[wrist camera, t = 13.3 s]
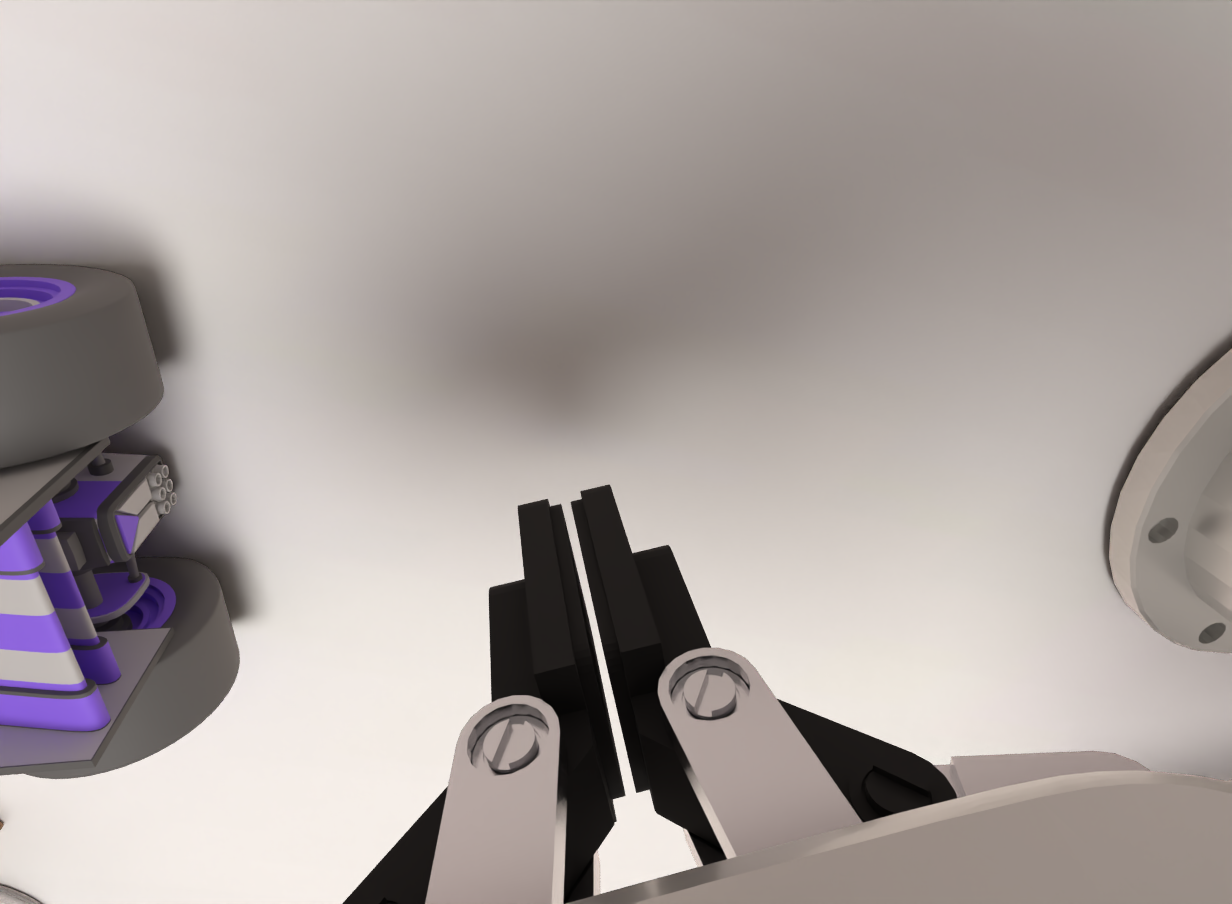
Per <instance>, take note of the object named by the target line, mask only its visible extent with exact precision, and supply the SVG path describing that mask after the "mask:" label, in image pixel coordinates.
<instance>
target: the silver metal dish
mask: <svg viewBox="0 0 1232 904" xmlns="http://www.w3.org/2000/svg"><path fill="white" fill-rule="evenodd" d="M0 904H41V903H39V902H38V901H36V900H35V899H33V898H31V897H29V896H27V895H25V894H23V893H21V892H19V891H16V890H14V889H11V888H8V887H5V886H2V885H0Z"/></svg>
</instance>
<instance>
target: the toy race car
mask: <svg viewBox="0 0 1232 904" xmlns="http://www.w3.org/2000/svg"><path fill="white" fill-rule="evenodd" d="M163 392H164V387H163V383H162V379H161V375H160V372H159V368H158V364H157V361H156V357H155V354H154V350H153V347H152V343H151V340H150V336H149V333H148V329H147V326H146V322H145V319H144V315H143V312H142V308H141V305H140V301H139V298H138V294H137V291H136V288H135V285H134V283H133V282H132V281H131V280H130V279H129V278H127V277H125V276H123V275H120V274H117V273H115V272H110V271H106V270H102V269H96V268H89V267H81V266H71V265H49V264H20V265H0V775H11V774H26V775H30V776H35V777H39V778H50V779H69V778H78V777H85V776H91V775H95V774H100V773H104V772H108V771H111V770H115V769H118V768H121V767H124V766H127V765H129V764H132V763H135V762H137V761H140V760H142V759H144V758H146V757H148V756H151V755H153V754H155V753H157V752H159V751H161V750H162V749H164V748H166V747H168V746H169V745H171V744H173V743H174V742H176V741H177V740H179V739H180V738H182V737H183V736H185V735H186V734H188V733H189V732H191V731H192V730H193V729H194V728H196V727H197V726H198V725H199V724H201V723H202V722H203V721H204V720H205V719H206V718H207V717H208V716H209V715H210V714H211V713H213V711H214V710H215V709H216V708H217V707H218V706H219V705H220V703H221V702H222V701H223V700H224V698H225V697H226V695H227V694H228V693H229V691H230V689H231V687H232V685H233V684H234V682H235V679H236V676H237V673H238V669H239V663H240V658H239V649H238V645H237V642H236V638H235V635H234V631H233V628H232V624H231V621H230V617H229V614H228V610H227V607H226V603H225V599H224V596H223V593H222V589H221V586H220V583H219V581H218V579H217V577H216V576H215V574H214V573H213V572H212V571H211V570H210V569H209V568H207V567H206V566H204V565H203V564H201V563H199V562H197V561H194V560H192V559H186V558H172V557H148V558H135V552H136V551H137V549H138V548H139V547H140V546H141V544H142V543H143V542H144V540H145V539H146V538H147V537H148V535H149V534H150V533H151V531H152V530H153V529H154V528H155V526H156V525H157V524H158V522H159V521H160V520H161V519H162V517H163V516H164V515H165V514H168V513H169V512H170V507H171V506H172V505H175V504H176V502H177V496H176V494H175V493H174V492H172V489H173V482H172V480H171V479H168V478H167V477H168V474H169V469H168V466H167V465H164V464H163V461H162V459H161V458H160V456H159V455H135V454H115V453H101V452H102V451H103V450H104V449H105V448H106V447H107V446H108V445H109V444H110V440H109V437H110V436H112V435H114V434H116V433H118V432H120V431H122V430H124V429H126V428H128V427H130V426H132V425H133V424H135V423H136V422H138V421H140V420H141V419H143V418H144V417H145V416H147V415H148V414H149V413H150V412H152V411H153V410H154V409H155V407H156V406H157V405H158V404H159V403H160V401H161V399H162V397H163Z"/></svg>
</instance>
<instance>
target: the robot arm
mask: <svg viewBox="0 0 1232 904" xmlns="http://www.w3.org/2000/svg"><path fill="white" fill-rule="evenodd" d="M581 496H582V499H580V500H576V501H572V502H571V506H572V511H573V515H574V520H575V524H576V529H577V533H578V538H579V542H580V547H581V551H582V556H583V561H584V565H585V570H586V574H587V579H588V583H589V588H590V592H591V597H592V601H593V606H594V611H595V615H596V620H597V624H598V629H599V633H600V638H601V642H602V647H603V651H604V656H605V660H606V665H607V669H608V673H609V678H610V682H611V686H612V690H613V695H614V699H615V703H616V708H617V712H618V716H619V720H620V725H621V729H622V733H623V738H624V742H625V746H626V750H627V755H628V759H629V763H630V768H631V772H632V776H633V780H634V785H635V789H636V793H638V792H642V791H646V790H649V789H650V793H651V797H652V801H653V805H654V809H655V811H656V813H657V814H659V815H661V816H662V817H664V818H666V819H668V820H670V821H672V822H673V823H675V824H677V825H679V826H681V827H682V828H683V831H684V834H685V838H686V842H687V844H688V846H689V849H690V851H691V853H692V855H693V858H694V860H695V862H696V864H697V868H694V869H690V870H686V871H683V872H679V873H675V874H672V875H668V876H664V877H661V878H657V879H653V880H650V881H646V882H642V883H639V884H635V885H632V886H628V887H624V888H621V889H617V890H613V891H610V892H606V893H603V894H600V861H599V855H598V848H599V847H600V845H601V844H602V842H603V841H604V839H605V838H606V836H607V835H608V833H609V832H610V830H611V829H612V827H613V826H614V822H617V821H616V815H615V810H614V805H613V799H615V798H619V797H623V796H625V791H624V786H623V781H622V776H621V772H620V767H619V762H618V757H617V752H616V747H615V743H614V738H613V733H612V728H611V723H610V718H609V713H608V709H607V704H606V699H605V694H604V689H603V684H602V680H601V675H600V670H599V665H598V660H597V655H596V651H595V646H594V641H593V636H592V631H591V627H590V622H589V618H588V614H587V610H586V605H585V601H584V597H583V593H582V589H581V585H580V580H579V576H578V572H577V568H576V564H575V560H574V555H573V551H572V547H571V543H570V539H569V534H568V530H567V526H566V522H565V518H564V514H563V510H562V506H561V504H559V505H555V506H550V505H549V502H548V499H545V500H541V501H536V502H532V503H528V504H523V505H519V506H518V516H519V526H520V536H521V546H522V557H523V567H524V577H525V579H524V580H519V581H515V582H511V583H507V584H503V585H498V586H494V587H490V589H489V621H490V657H491V694H492V703H490V704H488V705H486V706H484V707H483V708H481V709H480V710H479V711H478V712H477V713H476V714H474V715H473V716H472V717H471V718H470V719H469V721H468V722H467V723H466V725H465V726H464V728H463V729H462V730H461V733H460V736H459V739H458V741H457V744H456V749H455V754H454V759H453V764H452V769H451V774H450V779H449V784H448V787H447V788H446V789H445V790H444V791H443V792H442V793H441V794H440V795H439V797H438V798H437V799H436V800H435V801H434V802H433V803H432V804H431V805H430V807H429V808H428V809H427V810H426V811H425V812H424V813H423V814H422V816H421V817H420V818H419V819H418V820H417V821H416V822H415V823H414V824H413V826H412V827H411V828H410V829H409V830H408V831H407V832H406V833H405V834H404V836H403V837H402V838H401V839H400V840H399V841H398V842H397V843H396V845H395V846H394V847H393V848H392V849H391V850H390V851H389V852H388V853H387V855H386V856H385V857H384V858H383V859H382V860H381V861H380V862H379V863H378V865H377V866H376V867H375V868H374V869H373V870H372V871H371V872H370V874H369V875H368V876H367V877H366V878H365V879H364V880H363V881H362V882H361V884H360V885H359V886H358V887H357V888H356V889H355V890H354V891H353V892H352V894H351V895H350V896H349V897H348V898H347V899H346V900H345V901H344V903H343V904H1232V782H1228V781H1224V780H1219V779H1213V778H1208V777H1203V776H1196V775H1186V774H1177V773H1168V772H1156V771H1150V770H1149V769H1147V768H1146V767H1144V766H1143V765H1141V764H1140V763H1138V762H1136V761H1134V760H1131V759H1129V758H1126V757H1123V756H1121V755H1118V754H1115V753H1108V752H1099V751H1080V752H1054V753H1029V754H1004V755H979V756H954V757H951V762H950V765H933V764H931V763H930V762H929V761H927V760H925V759H923V758H921V757H919V756H917V755H916V754H914V753H912V752H909V751H907V750H904V749H902V748H899V747H897V746H894V745H892V744H889V743H886V742H884V741H881V740H879V739H876V738H874V737H871V736H869V735H866V734H864V733H861V732H859V731H856V730H854V729H851V728H849V727H846V726H844V725H841V724H839V723H836V722H834V721H831V720H829V719H826V718H824V717H821V716H819V715H816V714H814V713H811V712H809V711H806V710H804V709H801V708H799V707H796V706H794V705H791V704H789V703H786V702H784V701H781V700H779V699H776V697H775V696H774V694H773V693H772V691H771V690H770V688H769V687H768V686H767V684H766V683H765V681H764V680H763V678H762V677H761V676H760V674H759V673H758V671H757V670H756V668H755V667H754V666H753V665H752V664H751V663H750V662H749V661H748V660H747V659H746V658H744V657H742V656H741V655H739V654H737V653H735V652H733V651H730V650H725V649H721V648H711V646H710V644H709V641H708V639H707V636H706V634H705V631H704V629H703V626H702V624H701V621H700V619H699V616H698V614H697V612H696V609H695V607H694V604H693V602H692V599H691V597H690V594H689V592H688V589H687V587H686V584H685V582H684V580H683V577H682V575H681V572H680V570H679V567H678V565H677V562H676V560H675V557H674V555H673V552H672V550H671V548H670V546H669V545H666V546H661V547H657V548H653V549H649V550H645V551H640V552H636V553H632V551H631V548H630V545H629V542H628V539H627V536H626V533H625V530H624V527H623V523H622V520H621V517H620V514H619V511H618V508H617V505H616V502H615V499H614V496H613V492H612V489H611V486H610V485H605V486H601V487H597V488H592V489H588V490H584V491H581ZM1109 560H1110V565H1111V570H1112V575H1113V580H1114V584H1115V586H1116V587H1117V589H1118V591H1119V593H1120V594H1121V596H1122V598H1123V600H1124V602H1125V603H1126V605H1127V606H1129V607H1130V608H1131V609H1132V610H1133V611H1134V612H1135V613H1136V614H1137V615H1138V616H1139V617H1140V618H1141V619H1143V620H1144V621H1145V622H1146V623H1147V624H1148V625H1149V626H1150V627H1151V628H1152V629H1153V630H1155V631H1156V632H1158V633H1159V634H1161V635H1162V636H1164V637H1165V638H1167V639H1168V640H1170V641H1172V642H1173V643H1175V644H1178V645H1181V646H1184V647H1187V648H1190V649H1192V650H1197V651H1206V652H1218V653H1232V348H1231V349H1230V350H1229V351H1228V352H1227V353H1226V354H1224V355H1223V356H1222V357H1221V358H1220V359H1219V360H1218V361H1217V362H1216V363H1215V364H1213V365H1212V366H1211V367H1210V368H1209V369H1208V370H1207V371H1206V372H1205V373H1203V374H1202V375H1201V376H1200V377H1199V378H1198V379H1197V380H1196V381H1195V382H1194V383H1193V384H1192V385H1191V386H1190V388H1189V389H1188V390H1187V391H1186V392H1185V393H1184V395H1183V396H1182V397H1181V398H1180V399H1179V400H1178V401H1177V403H1176V404H1175V405H1174V406H1173V407H1172V408H1171V409H1170V411H1169V412H1168V413H1167V414H1166V415H1165V416H1164V417H1163V419H1162V420H1161V422H1160V423H1159V425H1158V426H1157V428H1156V429H1155V431H1154V432H1153V434H1152V435H1151V437H1150V438H1149V440H1148V441H1147V443H1146V444H1145V446H1144V447H1143V449H1142V450H1141V452H1140V453H1139V455H1138V457H1137V459H1136V461H1135V463H1134V465H1133V467H1132V469H1131V471H1130V473H1129V475H1128V477H1127V479H1126V482H1125V484H1124V486H1123V488H1122V490H1121V493H1120V496H1119V500H1118V503H1117V507H1116V510H1115V514H1114V517H1113V521H1112V524H1111V533H1110V548H1109Z"/></svg>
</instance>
